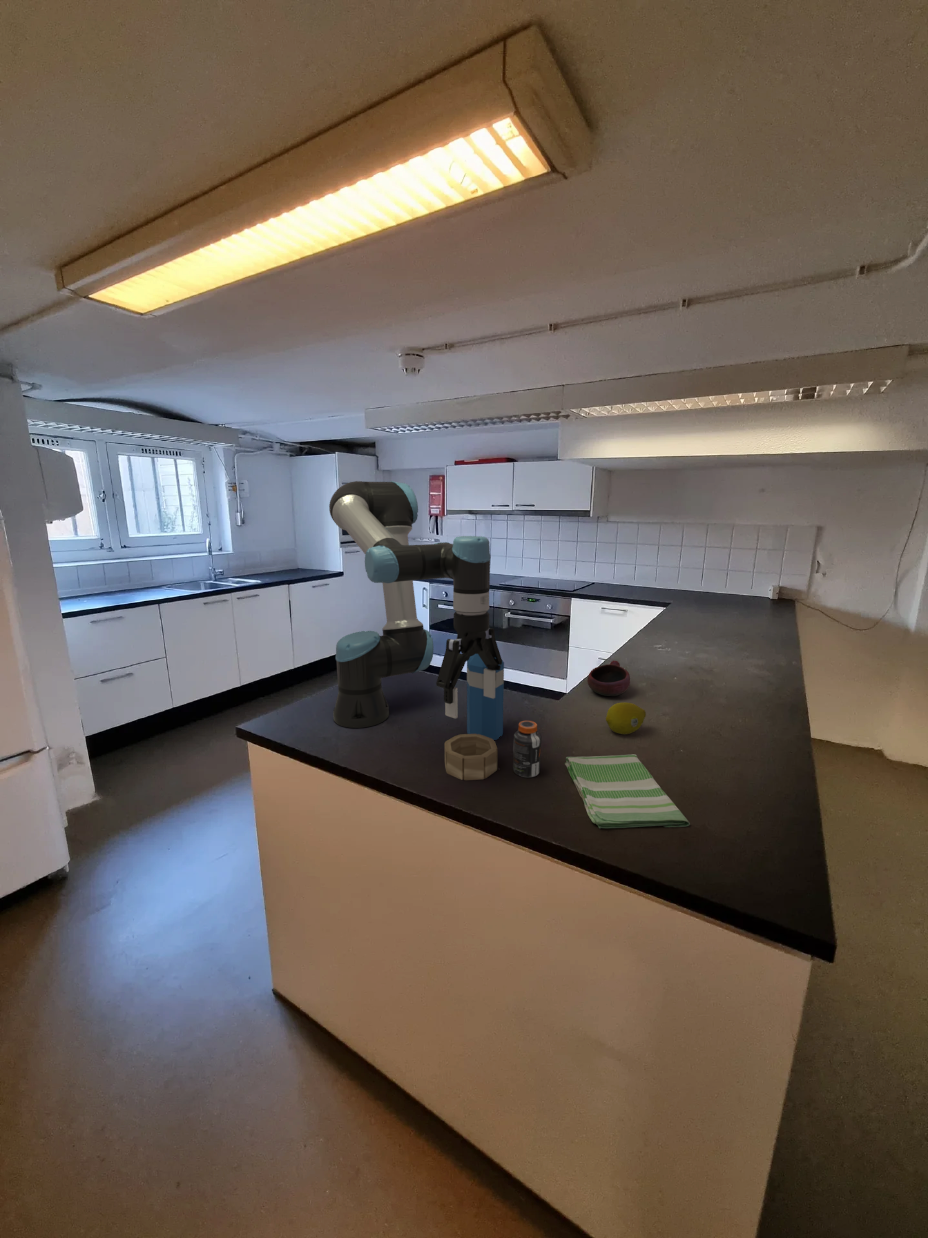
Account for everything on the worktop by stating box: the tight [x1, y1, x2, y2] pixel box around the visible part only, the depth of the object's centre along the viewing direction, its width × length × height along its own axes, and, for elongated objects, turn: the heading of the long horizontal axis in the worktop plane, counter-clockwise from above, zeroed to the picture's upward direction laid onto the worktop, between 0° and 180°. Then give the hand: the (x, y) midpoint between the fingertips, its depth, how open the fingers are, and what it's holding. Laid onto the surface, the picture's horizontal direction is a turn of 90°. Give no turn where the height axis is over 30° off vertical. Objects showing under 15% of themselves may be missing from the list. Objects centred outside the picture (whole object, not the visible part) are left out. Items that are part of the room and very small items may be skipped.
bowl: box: [586, 660, 631, 697], centre depth 152 cm, size 16×13×8 cm
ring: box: [444, 733, 498, 781], centre depth 109 cm, size 11×11×5 cm
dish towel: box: [564, 754, 691, 829], centre depth 100 cm, size 18×23×3 cm
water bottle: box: [466, 654, 505, 741], centre depth 122 cm, size 9×9×25 cm
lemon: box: [605, 701, 647, 735], centre depth 125 cm, size 11×8×8 cm
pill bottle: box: [512, 720, 542, 778], centre depth 106 cm, size 6×6×11 cm
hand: (471, 706), depth 106 cm, fingers open, 13 cm apart
